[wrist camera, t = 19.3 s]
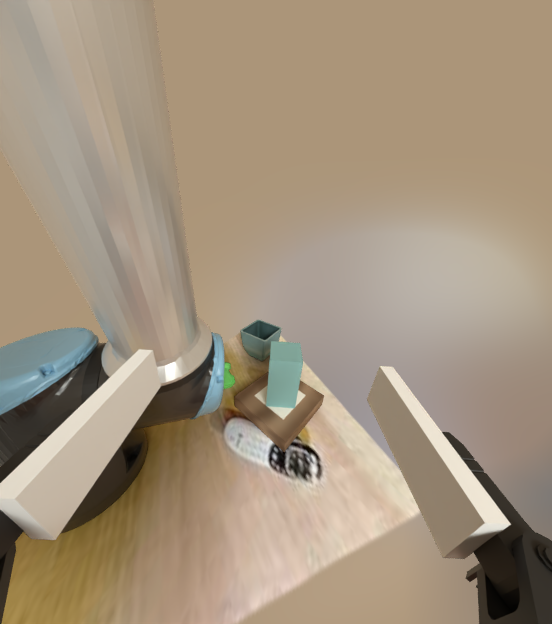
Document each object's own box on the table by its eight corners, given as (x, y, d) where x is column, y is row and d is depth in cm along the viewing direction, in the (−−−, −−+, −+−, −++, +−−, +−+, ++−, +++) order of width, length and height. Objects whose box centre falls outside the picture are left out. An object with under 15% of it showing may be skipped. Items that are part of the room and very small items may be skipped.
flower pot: (239, 356, 60) (239, 330, 56) (257, 342, 67) (258, 318, 63) (263, 368, 56) (265, 341, 52) (279, 352, 63) (282, 327, 59)
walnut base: (234, 405, 44) (234, 395, 43) (275, 374, 54) (276, 364, 53) (284, 452, 37) (285, 441, 35) (321, 405, 46) (324, 395, 45)
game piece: (214, 381, 50) (212, 362, 48) (229, 373, 53) (228, 355, 51) (223, 391, 48) (222, 372, 45) (238, 383, 50) (238, 364, 48)
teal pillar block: (266, 406, 41) (269, 359, 36) (267, 384, 47) (271, 341, 41) (295, 408, 41) (303, 362, 36) (293, 386, 47) (300, 343, 41)
